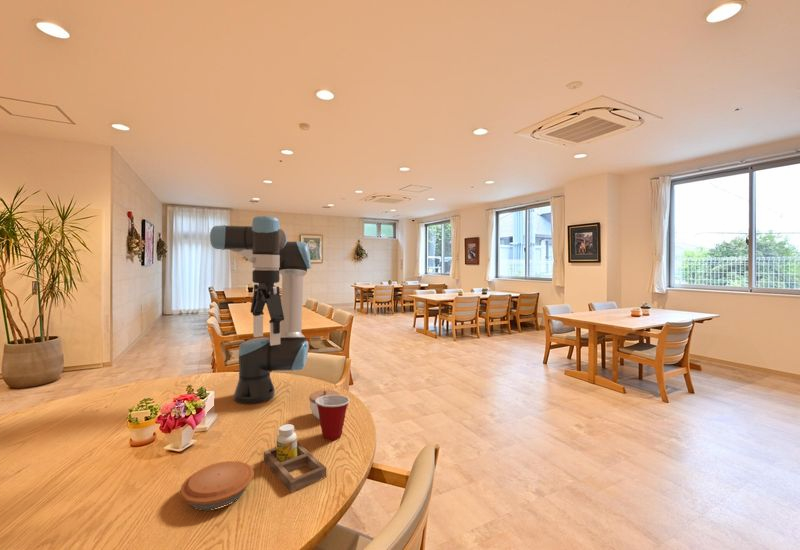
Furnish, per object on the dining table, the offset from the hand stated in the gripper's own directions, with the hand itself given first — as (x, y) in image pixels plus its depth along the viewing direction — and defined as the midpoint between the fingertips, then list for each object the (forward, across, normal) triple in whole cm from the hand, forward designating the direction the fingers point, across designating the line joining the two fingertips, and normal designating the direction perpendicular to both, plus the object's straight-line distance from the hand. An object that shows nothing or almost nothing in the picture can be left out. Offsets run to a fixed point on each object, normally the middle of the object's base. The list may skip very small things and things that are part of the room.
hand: (266, 340), depth 106 cm
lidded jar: (+32, -6, +23) cm, 40 cm away
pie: (+32, +15, -17) cm, 39 cm away
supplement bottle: (+32, +12, +1) cm, 34 cm away
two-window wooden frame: (+32, +17, +1) cm, 36 cm away
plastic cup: (+32, +8, +18) cm, 37 cm away
